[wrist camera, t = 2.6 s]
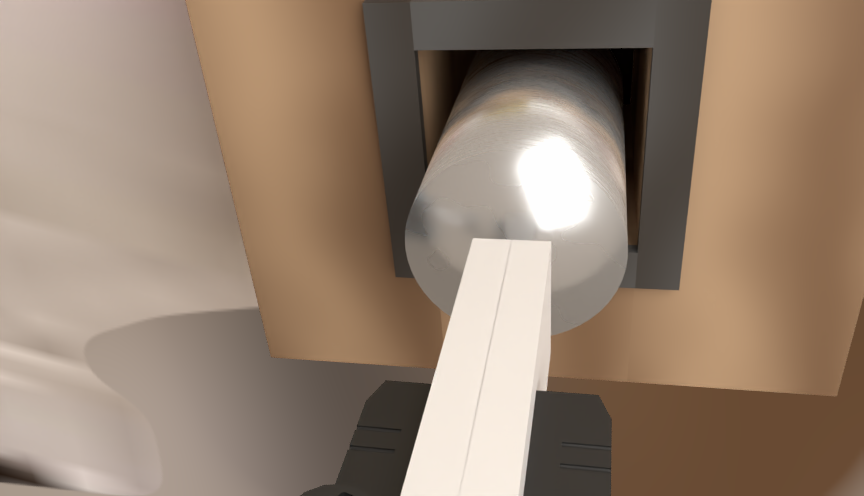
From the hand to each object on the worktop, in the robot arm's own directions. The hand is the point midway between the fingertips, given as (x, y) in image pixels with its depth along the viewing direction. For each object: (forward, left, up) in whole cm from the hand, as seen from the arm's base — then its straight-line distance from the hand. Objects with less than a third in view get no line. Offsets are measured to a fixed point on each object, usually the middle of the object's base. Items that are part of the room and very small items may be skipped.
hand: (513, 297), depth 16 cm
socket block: (0, 0, -17) cm, 17 cm away
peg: (0, 0, -12) cm, 12 cm away
